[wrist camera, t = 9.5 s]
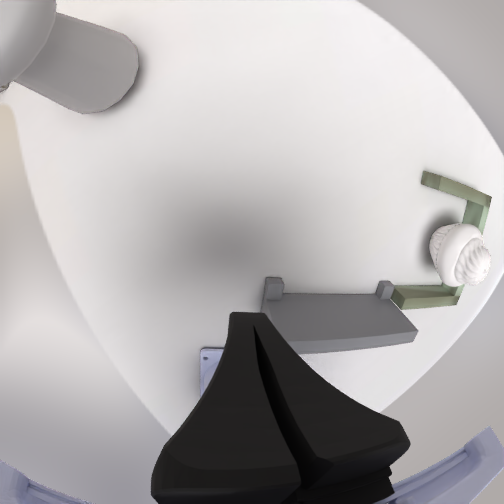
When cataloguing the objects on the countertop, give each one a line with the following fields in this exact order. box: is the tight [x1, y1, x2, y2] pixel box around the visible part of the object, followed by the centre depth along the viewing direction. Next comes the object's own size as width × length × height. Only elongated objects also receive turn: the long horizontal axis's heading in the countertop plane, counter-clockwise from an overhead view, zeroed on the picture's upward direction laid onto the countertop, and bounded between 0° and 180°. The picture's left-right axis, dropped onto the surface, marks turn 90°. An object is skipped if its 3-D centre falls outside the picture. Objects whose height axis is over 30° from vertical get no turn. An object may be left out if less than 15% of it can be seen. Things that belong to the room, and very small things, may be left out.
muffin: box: [429, 223, 491, 287], centre depth 20 cm, size 6×6×7 cm
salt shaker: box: [0, 0, 139, 114], centre depth 8 cm, size 6×6×13 cm
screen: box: [261, 278, 418, 354], centre depth 21 cm, size 4×12×6 cm, turn 83°
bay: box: [391, 171, 492, 310], centre depth 22 cm, size 12×9×2 cm
